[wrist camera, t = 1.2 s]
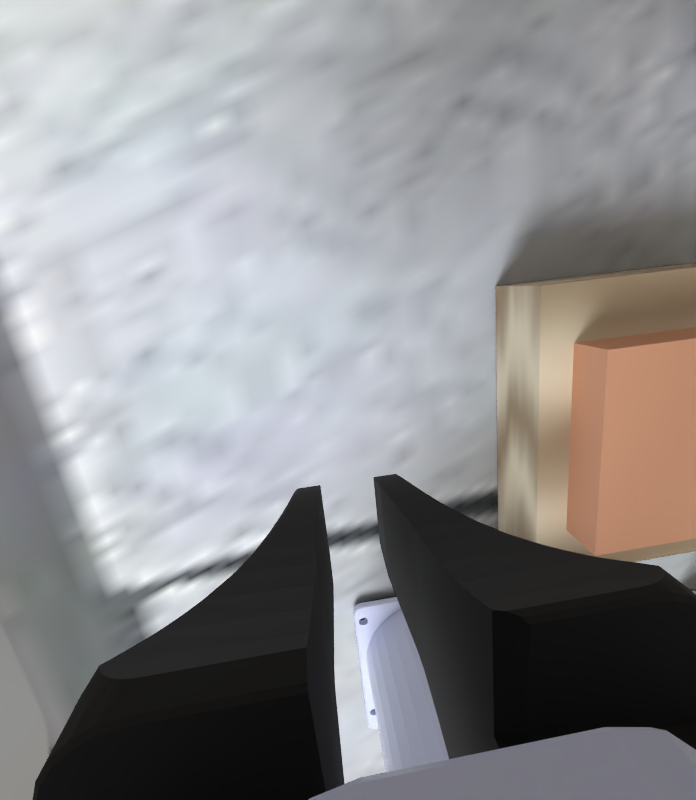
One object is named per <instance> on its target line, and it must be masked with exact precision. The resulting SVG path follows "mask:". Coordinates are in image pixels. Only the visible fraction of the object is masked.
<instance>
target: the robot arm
mask: <svg viewBox="0 0 696 800" xmlns="http://www.w3.org/2000/svg"><path fill="white" fill-rule="evenodd" d="M374 487H375V497H376V507H377V517H378V527H379V536H380V544H381V549H382V553H383V557H384V561H385V565H386V568H387V572H388V576H389V579H390V581H391V584H392V587H393V589H394V592H395V594H396V597H393V598H387V599H381V600H375V601H370V602H364V603H360V604H357V605H356V606H355V607H354V610H353V613H354V621H355V629H356V636H357V644H358V652H359V660H360V668H361V675H362V683H363V691H364V699H365V707H366V714H367V722H368V726H369V727H370V728H371V729H379V734H380V740H381V746H382V751H383V757H384V763H385V768H386V772H385V773H380V774H376V775H371V776H366V777H361V778H358V779H356V780H353V781H351V782H349V783H346V784H344V776H343V766H342V756H341V745H340V735H339V725H338V714H337V704H336V694H335V678H334V596H333V578H332V569H331V561H330V552H329V545H328V538H327V531H326V524H325V517H324V510H323V502H322V495H321V488H320V485H319V486H313V487H306V488H299V489H297V490H296V491H295V492H294V494H293V496H292V498H291V500H290V501H289V503H288V505H287V507H286V508H285V510H284V512H283V513H282V515H281V516H280V518H279V519H278V521H277V522H276V524H275V525H274V527H273V528H272V530H271V531H270V533H269V534H268V535H267V536H266V538H265V539H264V540H263V542H262V543H261V544H260V545H259V547H258V548H257V549H256V551H255V552H254V553H253V554H252V555H251V556H250V558H249V559H248V560H247V561H246V562H245V563H244V564H243V565H242V566H241V567H240V568H239V569H238V570H237V571H236V572H235V573H234V574H233V575H232V576H231V577H229V578H228V579H227V580H226V581H225V582H224V583H222V584H221V585H220V586H219V587H218V588H216V589H215V590H214V591H213V592H212V593H211V594H209V595H208V596H207V597H206V598H205V599H204V600H202V601H201V602H200V603H198V604H197V605H196V606H194V607H193V608H192V609H190V610H189V611H188V612H186V613H185V614H183V615H182V616H180V617H179V618H178V619H176V620H175V621H173V622H172V623H170V624H169V625H167V626H166V627H164V628H163V629H161V630H160V631H158V632H157V633H155V634H153V635H152V636H150V637H148V638H147V639H145V640H143V641H142V642H140V643H138V644H136V645H135V646H133V647H131V648H130V649H128V650H126V651H124V652H123V653H121V654H119V655H118V656H116V657H114V658H112V659H111V660H109V661H107V662H105V663H103V664H101V665H100V666H99V667H98V669H97V670H96V672H95V674H94V675H93V677H92V679H91V680H90V682H89V683H88V685H87V687H86V688H85V690H84V692H83V693H82V695H81V697H80V698H79V700H78V702H77V704H76V706H75V708H74V710H73V712H72V714H71V716H70V717H69V719H68V721H67V723H66V725H65V727H64V729H63V731H62V732H61V734H60V736H59V738H58V740H57V742H56V744H55V746H54V748H53V749H52V751H51V753H50V755H49V757H48V759H47V761H46V763H45V765H44V766H43V768H42V770H41V772H40V774H39V776H38V778H37V780H36V782H35V788H34V795H33V800H696V594H695V593H693V592H692V591H691V590H689V589H688V588H687V587H686V586H684V585H683V584H682V583H680V582H679V581H678V580H677V579H675V578H674V577H673V576H671V575H670V574H669V573H667V572H666V571H665V570H663V569H662V568H661V567H659V566H655V565H648V564H641V563H634V562H627V561H621V560H614V559H607V558H600V557H595V556H590V555H585V554H580V553H576V552H571V551H566V550H562V549H558V548H554V547H550V546H546V545H542V544H539V543H536V542H532V541H529V540H526V539H523V538H519V537H516V536H513V535H510V534H508V533H505V532H502V531H499V530H497V529H494V528H492V527H489V526H487V525H485V524H482V523H480V522H477V521H475V520H473V519H471V518H469V517H467V516H465V515H463V514H461V513H459V512H457V511H455V510H453V509H451V508H449V507H447V506H446V505H444V504H442V503H440V502H439V501H437V500H435V499H434V498H432V497H430V496H429V495H427V494H426V493H424V492H423V491H421V490H419V489H418V488H416V487H415V486H413V485H412V484H410V483H409V482H408V481H406V480H405V479H403V478H402V477H400V476H398V475H397V474H392V475H386V476H379V477H374ZM361 618H366V619H364V620H360V619H361Z"/></svg>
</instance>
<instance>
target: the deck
mask: <svg viewBox="0 0 696 800" xmlns="http://www.w3.org/2000/svg"><path fill="white" fill-rule="evenodd" d="M694 327H696V263H692V264H680V265H671V266H663V267H654V268H645V269H637V270H628V271H620V272H611V273H603V274H594V275H586V276H577V277H569V278H560V279H552V280H543V281H534V282H526V283H517V284H509V285H500V286H496V362H497V455H498V530H499V531H502V532H505V533H508V534H510V535H513V536H516V537H519V538H523V539H526V540H529V541H532V542H536V543H539V544H542V545H546V546H550V547H554V548H558V549H562V550H566V551H571V552H576V553H580V554H585V555H590V556H594V555H593V554H592V553H591V552H590V551H589V550H588V549H587V548H586V547H585V546H583V545H582V544H581V543H580V542H579V541H578V540H577V539H576V538H575V537H574V536H572V535H571V534H570V533H569V532H568V531H567V530H566V526H567V501H568V476H569V452H570V427H571V402H572V378H573V353H574V343H578V342H586V341H594V340H601V339H609V338H617V337H624V336H632V335H640V334H647V333H655V332H663V331H670V330H678V329H686V328H694ZM692 551H696V539H690V540H684V541H678V542H673V543H667V544H661V545H655V546H649V547H644V548H638V549H632V550H626V551H621V552H615V553H609V554H603V555H597V556H595V557H600V558H607V559H614V560H621V561H627V562H635V561H641V560H647V559H652V558H658V557H664V556H670V555H675V554H681V553H687V552H692Z"/></svg>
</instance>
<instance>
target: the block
mask: <svg viewBox="0 0 696 800" xmlns="http://www.w3.org/2000/svg"><path fill="white" fill-rule="evenodd" d="M566 530H567V531H568V532H569V533H570V534H571V535H572V536H574V537H575V538H576V539H577V540H578V541H579V542H580V543H581V544H582V545H583V546H585V547H586V548H587V549H588V550H589V551H590V552H591V553H592V554H593V555H594V556H597V555H603V554H609V553H615V552H621V551H626V550H632V549H638V548H644V547H649V546H655V545H661V544H667V543H673V542H678V541H684V540H690V539H696V327H694V328H686V329H678V330H670V331H663V332H655V333H647V334H640V335H632V336H624V337H617V338H609V339H601V340H594V341H586V342H578V343H574V353H573V378H572V402H571V427H570V452H569V476H568V501H567V526H566Z"/></svg>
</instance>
